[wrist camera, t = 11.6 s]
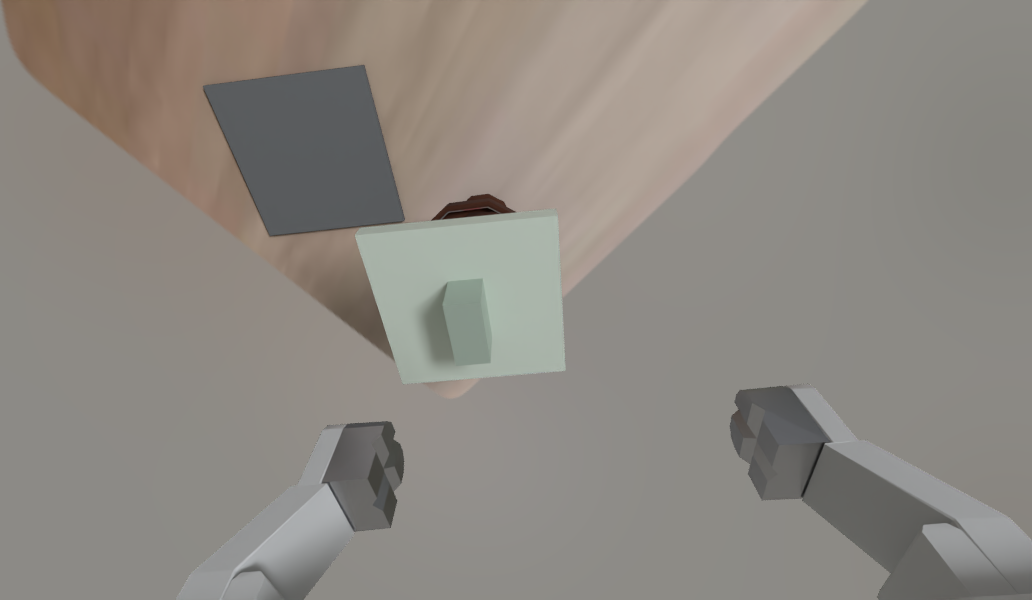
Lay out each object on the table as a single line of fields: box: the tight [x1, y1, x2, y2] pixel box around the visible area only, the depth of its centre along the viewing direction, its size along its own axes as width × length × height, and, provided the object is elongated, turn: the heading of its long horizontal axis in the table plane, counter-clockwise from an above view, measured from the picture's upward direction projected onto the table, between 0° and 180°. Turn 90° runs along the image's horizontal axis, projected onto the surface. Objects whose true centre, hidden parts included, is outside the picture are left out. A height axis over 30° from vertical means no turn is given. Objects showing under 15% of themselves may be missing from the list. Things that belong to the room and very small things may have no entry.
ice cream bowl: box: [431, 194, 516, 221], centre depth 39 cm, size 11×11×15 cm
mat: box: [203, 65, 405, 236], centre depth 41 cm, size 14×14×1 cm
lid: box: [355, 209, 565, 384], centre depth 31 cm, size 13×13×4 cm
